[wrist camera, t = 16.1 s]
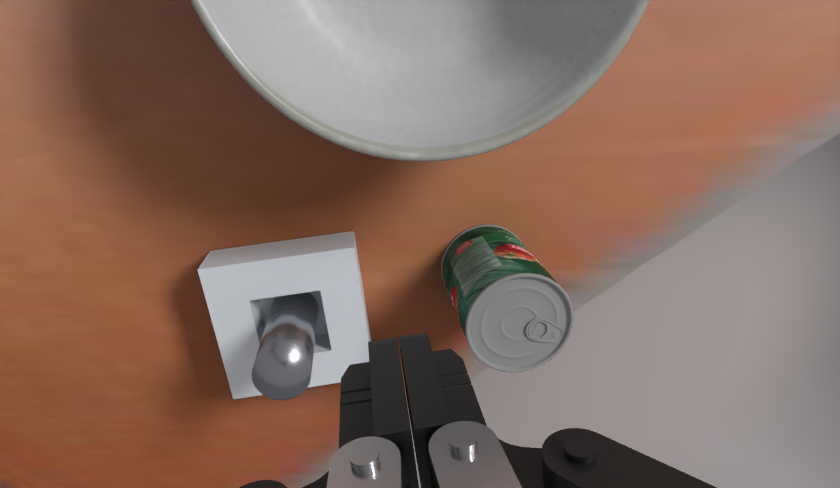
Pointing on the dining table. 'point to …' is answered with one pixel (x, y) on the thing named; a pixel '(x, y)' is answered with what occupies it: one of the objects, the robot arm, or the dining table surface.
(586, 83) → the decorative bowl
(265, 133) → the dining table surface
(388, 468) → the robot arm
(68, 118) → the dining table surface
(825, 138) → the dining table surface
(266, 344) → the shiny steel cylinder
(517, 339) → the canned tomato
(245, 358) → the jig
